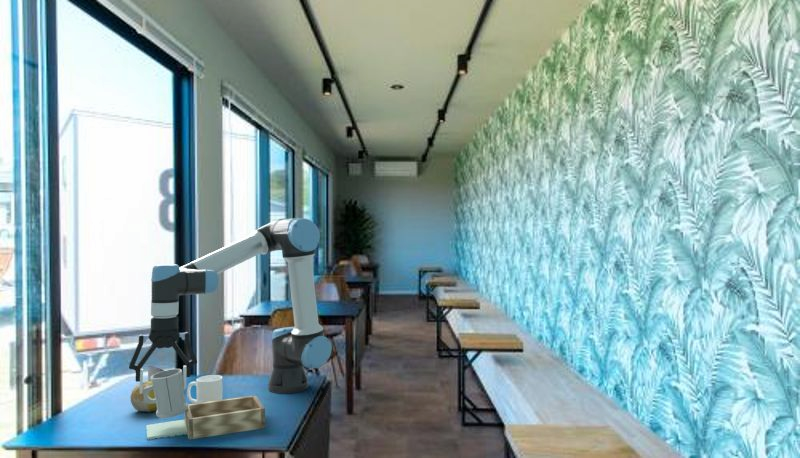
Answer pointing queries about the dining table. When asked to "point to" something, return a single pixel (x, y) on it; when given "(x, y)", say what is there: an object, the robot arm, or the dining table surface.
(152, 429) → the mat
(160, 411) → the cup
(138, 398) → the fruit
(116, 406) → the dining table surface
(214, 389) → the cup
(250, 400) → the caddy
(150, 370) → the bowl
